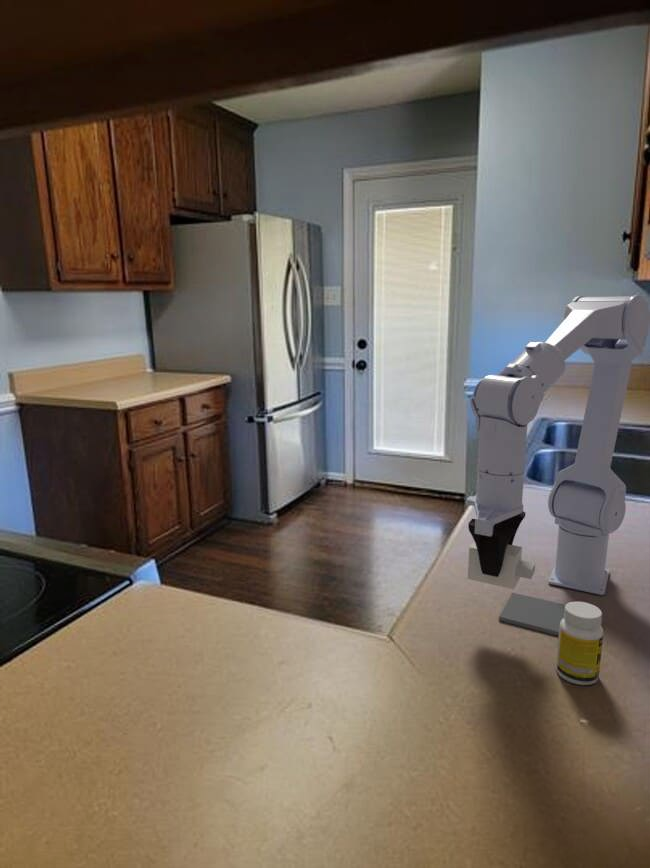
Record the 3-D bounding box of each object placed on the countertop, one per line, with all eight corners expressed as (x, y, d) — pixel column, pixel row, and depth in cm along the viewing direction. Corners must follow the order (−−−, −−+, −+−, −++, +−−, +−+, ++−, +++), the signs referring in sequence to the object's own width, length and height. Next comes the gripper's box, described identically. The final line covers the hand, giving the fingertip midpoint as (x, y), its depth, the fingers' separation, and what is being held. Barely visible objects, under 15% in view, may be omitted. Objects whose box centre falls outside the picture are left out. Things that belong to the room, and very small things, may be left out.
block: (475, 568, 81) (476, 538, 80) (534, 581, 77) (537, 549, 76) (467, 578, 78) (469, 547, 77) (529, 592, 74) (531, 559, 73)
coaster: (512, 596, 88) (512, 592, 88) (568, 609, 84) (569, 605, 84) (498, 620, 81) (499, 616, 81) (560, 636, 77) (560, 632, 77)
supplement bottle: (603, 689, 67) (610, 622, 65) (559, 684, 68) (565, 618, 66) (593, 664, 71) (599, 601, 69) (552, 659, 72) (557, 597, 70)
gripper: (484, 453, 82) (479, 543, 85) (452, 479, 70) (447, 583, 73) (536, 459, 79) (529, 553, 82) (512, 488, 67) (504, 597, 70)
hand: (494, 568), depth 77 cm, fingers closed on block, 3 cm apart
